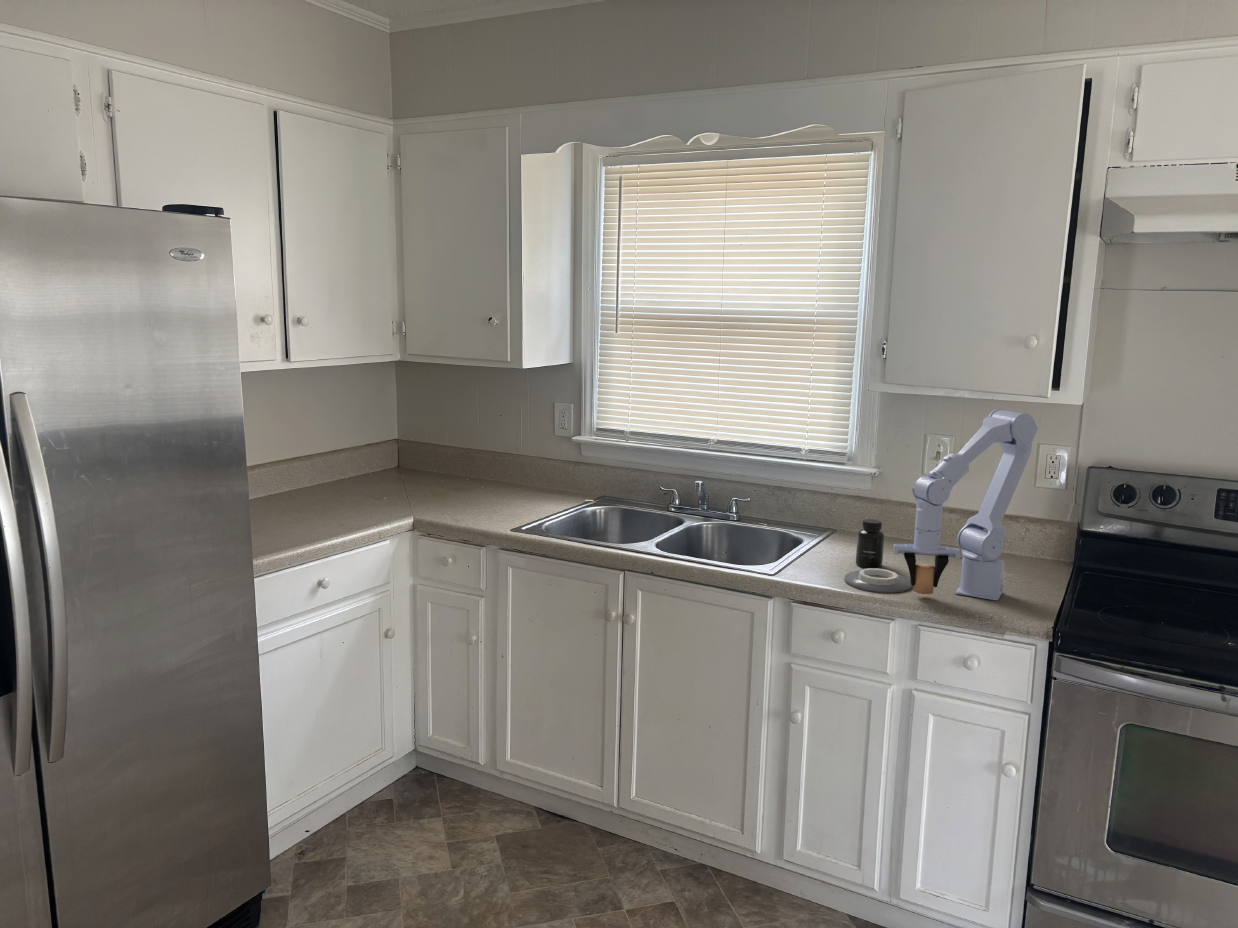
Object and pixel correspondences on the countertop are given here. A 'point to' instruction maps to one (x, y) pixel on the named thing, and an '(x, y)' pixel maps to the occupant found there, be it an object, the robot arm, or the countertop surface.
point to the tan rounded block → (924, 578)
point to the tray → (878, 588)
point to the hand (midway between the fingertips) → (923, 585)
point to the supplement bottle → (870, 544)
